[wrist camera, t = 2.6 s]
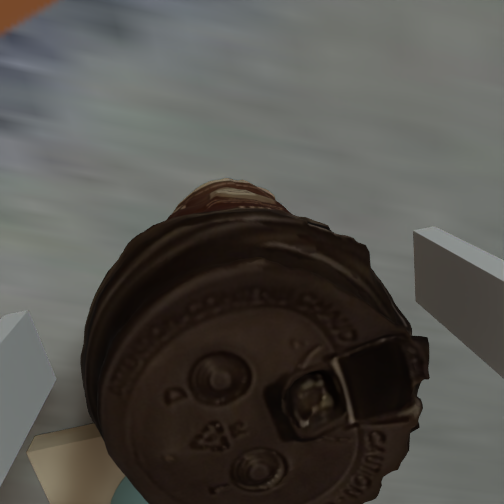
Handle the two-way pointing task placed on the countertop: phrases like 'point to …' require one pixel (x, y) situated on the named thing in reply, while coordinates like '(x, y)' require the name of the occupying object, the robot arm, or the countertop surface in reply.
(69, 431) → the oak board
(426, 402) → the countertop surface
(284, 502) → the coffee cup
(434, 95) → the countertop surface
